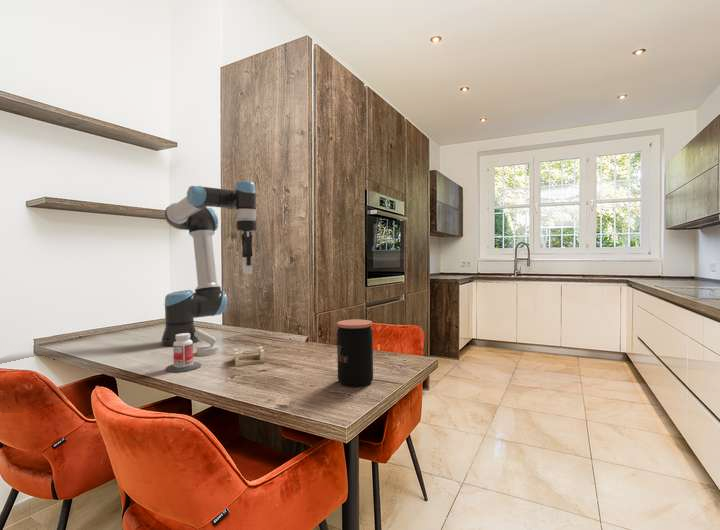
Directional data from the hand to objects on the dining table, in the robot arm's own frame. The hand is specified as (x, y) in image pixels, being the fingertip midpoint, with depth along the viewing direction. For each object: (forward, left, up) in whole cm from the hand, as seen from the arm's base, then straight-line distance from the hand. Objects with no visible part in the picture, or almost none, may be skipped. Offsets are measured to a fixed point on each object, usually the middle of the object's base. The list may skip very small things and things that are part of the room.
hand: (247, 273), depth 154 cm
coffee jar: (+52, +27, -32) cm, 67 cm away
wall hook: (-6, -16, -32) cm, 36 cm away
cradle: (+14, -1, -32) cm, 35 cm away
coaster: (+14, -23, -32) cm, 42 cm away
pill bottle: (+14, -23, -31) cm, 41 cm away
